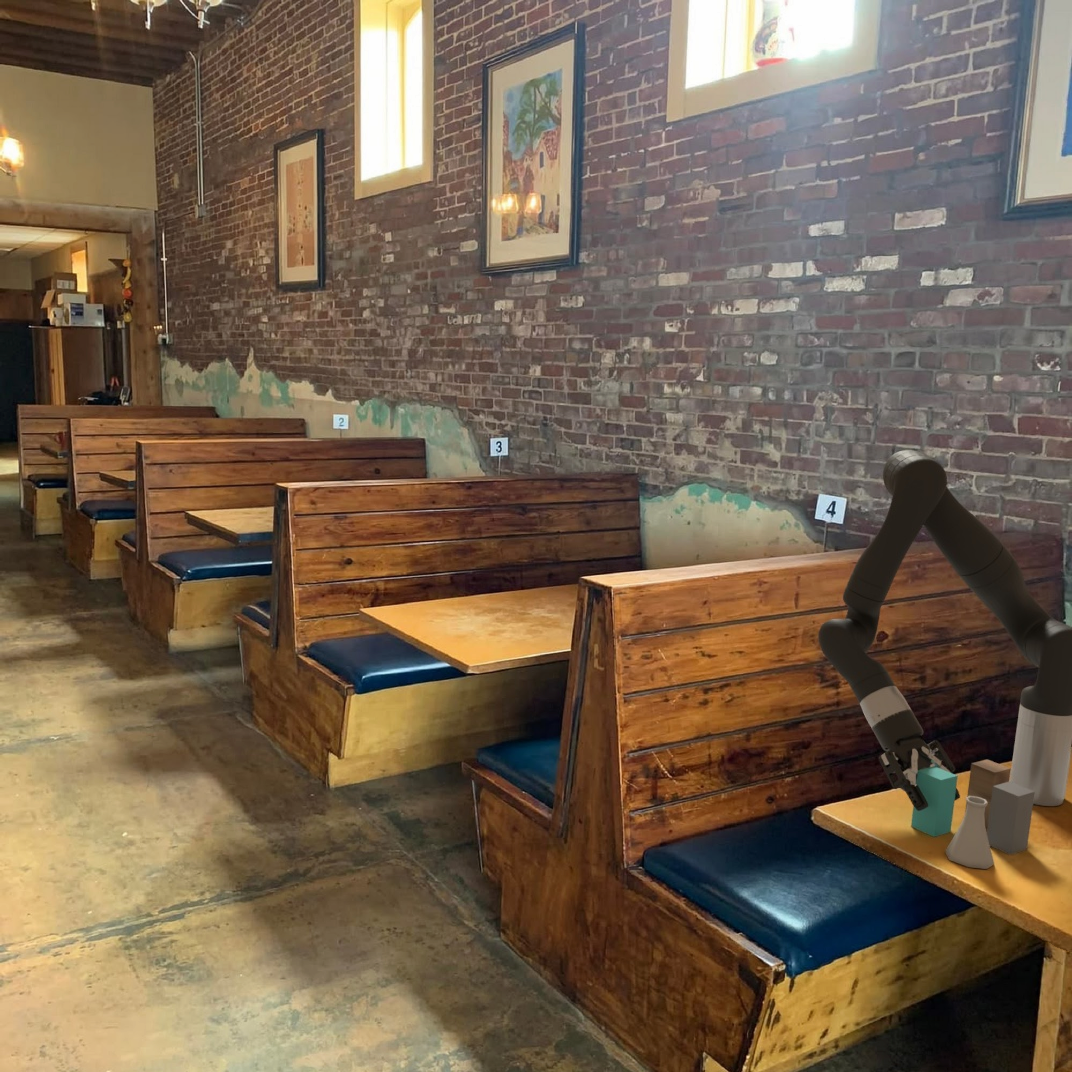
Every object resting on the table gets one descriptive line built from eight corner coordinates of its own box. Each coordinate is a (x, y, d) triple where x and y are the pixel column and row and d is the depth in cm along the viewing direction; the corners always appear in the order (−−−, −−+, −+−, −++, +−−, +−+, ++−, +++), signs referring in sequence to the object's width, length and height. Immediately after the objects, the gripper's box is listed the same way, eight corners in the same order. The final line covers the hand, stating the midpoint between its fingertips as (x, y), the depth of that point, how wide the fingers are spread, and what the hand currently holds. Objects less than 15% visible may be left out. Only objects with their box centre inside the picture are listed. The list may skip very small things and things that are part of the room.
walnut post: (980, 812, 177) (986, 759, 175) (1003, 823, 173) (1010, 768, 171) (964, 817, 174) (971, 763, 173) (987, 827, 170) (995, 772, 169)
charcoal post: (1001, 838, 167) (1009, 781, 165) (1026, 849, 163) (1034, 791, 161) (985, 843, 164) (993, 786, 163) (1010, 854, 161) (1018, 796, 159)
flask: (942, 862, 157) (950, 802, 155) (947, 844, 163) (954, 787, 162) (992, 874, 153) (1000, 813, 152) (995, 856, 160) (1003, 797, 158)
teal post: (927, 821, 172) (934, 766, 170) (950, 831, 168) (957, 775, 166) (911, 826, 169) (917, 770, 168) (933, 837, 166) (940, 780, 164)
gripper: (878, 713, 168) (928, 803, 161) (931, 703, 176) (981, 788, 168) (849, 733, 174) (897, 821, 166) (902, 722, 181) (950, 805, 173)
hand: (939, 804), depth 167 cm, fingers open, 8 cm apart
